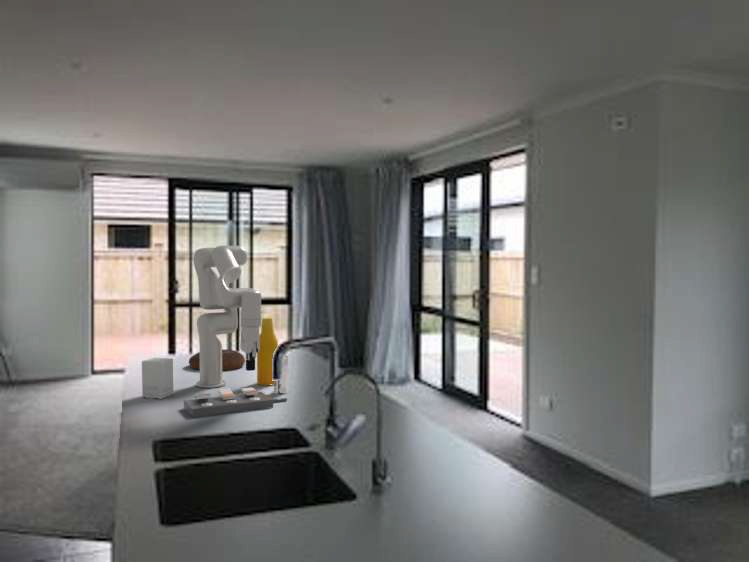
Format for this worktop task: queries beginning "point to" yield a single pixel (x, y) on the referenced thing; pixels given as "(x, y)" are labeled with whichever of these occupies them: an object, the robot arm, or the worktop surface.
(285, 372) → the beer glass
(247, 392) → the outlet rocker
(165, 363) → the supplement box
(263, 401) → the power strip
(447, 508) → the worktop surface
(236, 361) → the bread
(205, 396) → the rocker outlet
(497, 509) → the worktop surface
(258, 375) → the beer bottle
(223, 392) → the outlet rocker
